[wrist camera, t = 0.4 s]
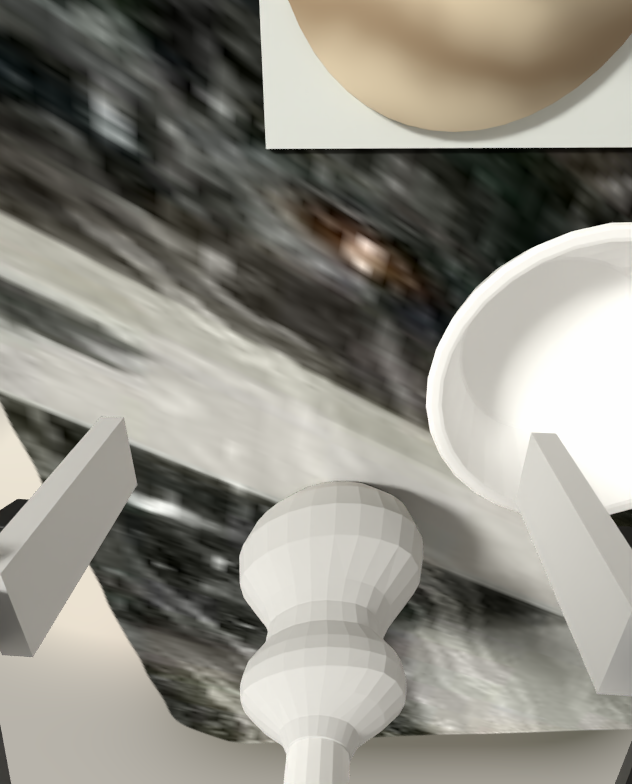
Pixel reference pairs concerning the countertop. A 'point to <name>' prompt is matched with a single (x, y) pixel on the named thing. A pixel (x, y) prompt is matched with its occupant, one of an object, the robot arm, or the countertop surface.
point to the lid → (462, 54)
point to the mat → (372, 130)
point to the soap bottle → (328, 622)
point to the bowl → (541, 367)
